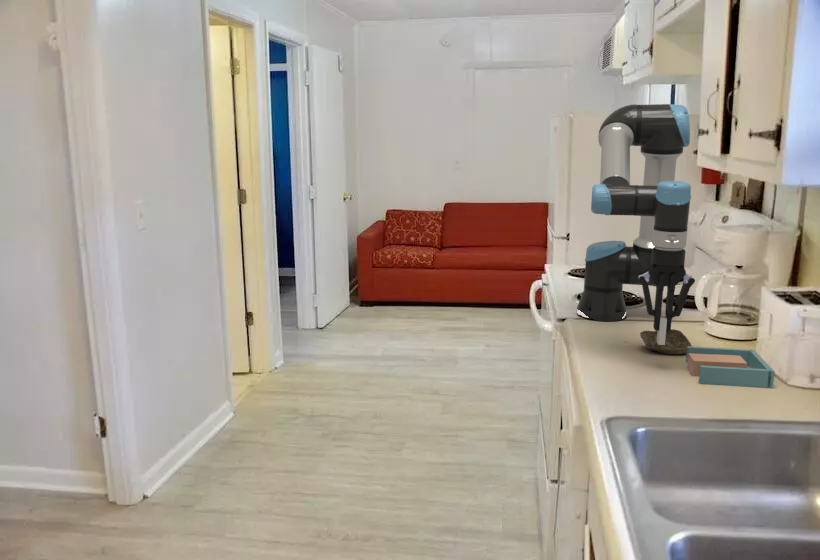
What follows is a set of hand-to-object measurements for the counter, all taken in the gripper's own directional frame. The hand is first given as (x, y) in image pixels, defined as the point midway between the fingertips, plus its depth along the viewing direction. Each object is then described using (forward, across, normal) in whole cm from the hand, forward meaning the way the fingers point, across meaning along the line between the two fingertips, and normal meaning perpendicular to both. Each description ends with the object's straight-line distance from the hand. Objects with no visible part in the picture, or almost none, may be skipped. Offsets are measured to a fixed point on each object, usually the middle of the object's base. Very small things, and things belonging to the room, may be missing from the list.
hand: (660, 343), depth 175 cm
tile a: (+7, +16, -1) cm, 18 cm away
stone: (+7, +4, +15) cm, 17 cm away
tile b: (+7, +10, -1) cm, 12 cm away
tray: (+7, +15, -1) cm, 17 cm away
